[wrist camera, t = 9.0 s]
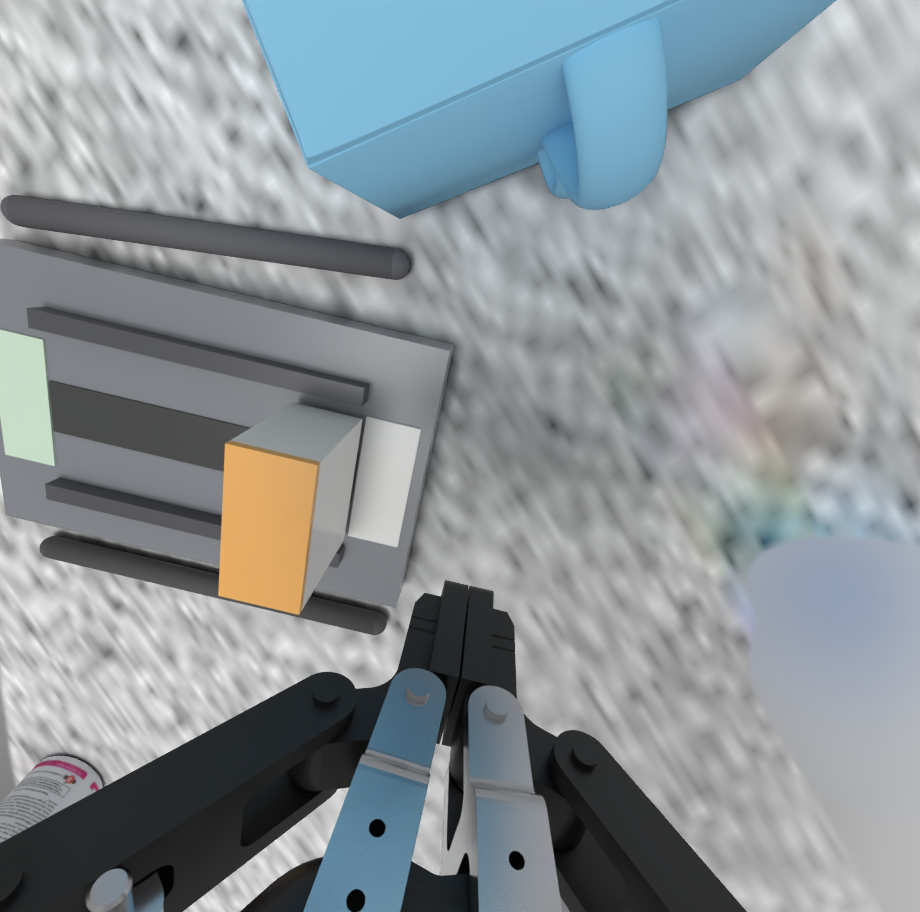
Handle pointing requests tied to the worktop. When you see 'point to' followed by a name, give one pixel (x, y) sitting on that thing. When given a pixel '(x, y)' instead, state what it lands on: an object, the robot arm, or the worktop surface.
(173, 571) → the dark grey rod
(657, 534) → the worktop surface
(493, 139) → the teapot
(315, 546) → the grey orange rectangular block
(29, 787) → the pill bottle
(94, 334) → the panel
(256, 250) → the cord
